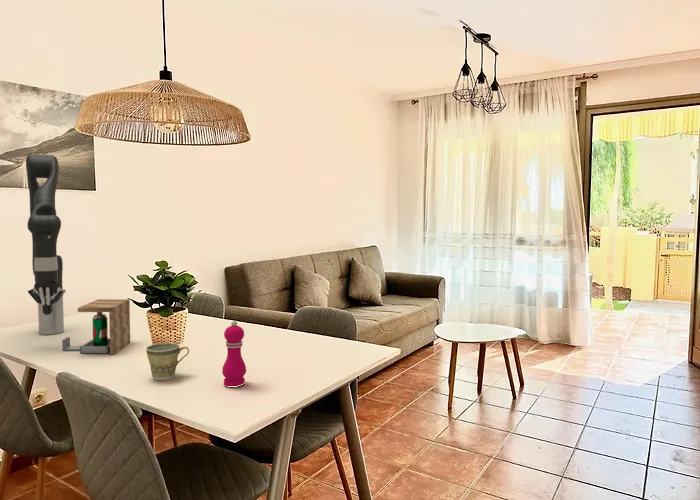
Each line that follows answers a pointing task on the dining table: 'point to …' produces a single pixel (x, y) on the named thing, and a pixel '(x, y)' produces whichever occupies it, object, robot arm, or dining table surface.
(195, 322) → the dining table surface
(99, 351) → the tray
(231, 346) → the pepper mill
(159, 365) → the ceramic cup
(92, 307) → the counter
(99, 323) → the soda can
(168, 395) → the dining table surface
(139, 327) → the dining table surface
